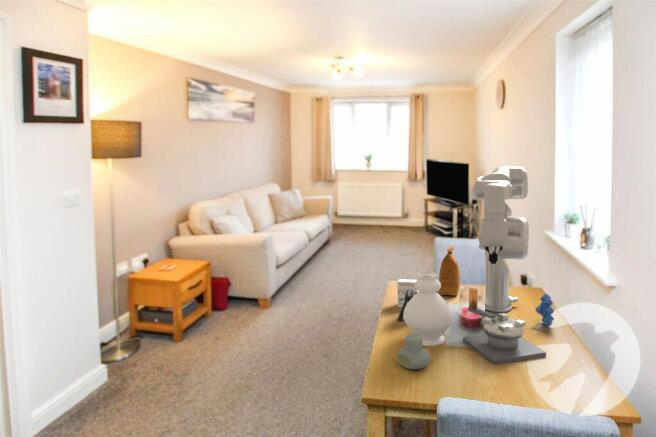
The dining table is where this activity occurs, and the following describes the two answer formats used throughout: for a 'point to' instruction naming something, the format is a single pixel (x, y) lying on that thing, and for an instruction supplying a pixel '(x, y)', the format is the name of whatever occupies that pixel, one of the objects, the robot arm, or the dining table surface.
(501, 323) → the multicoloured piece
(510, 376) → the dining table surface
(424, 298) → the decorative vase
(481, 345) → the thin grey metal plate
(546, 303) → the grapes
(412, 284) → the ink box
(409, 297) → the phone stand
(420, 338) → the air freshener
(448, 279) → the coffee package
